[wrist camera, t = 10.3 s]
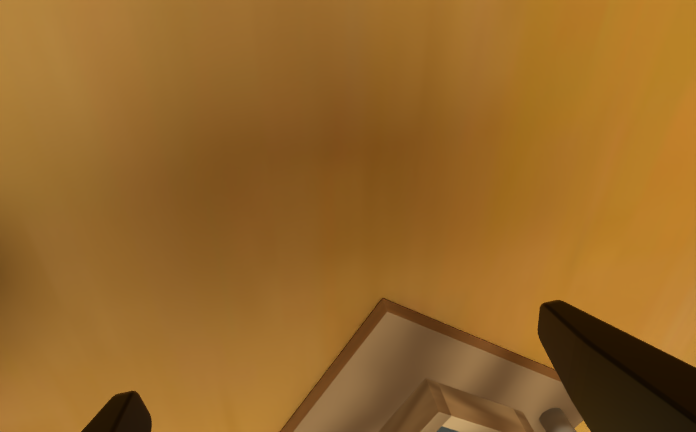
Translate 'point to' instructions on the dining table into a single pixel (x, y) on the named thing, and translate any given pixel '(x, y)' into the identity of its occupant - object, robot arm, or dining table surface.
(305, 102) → the dining table surface
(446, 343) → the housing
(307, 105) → the dining table surface
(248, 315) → the dining table surface
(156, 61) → the dining table surface
